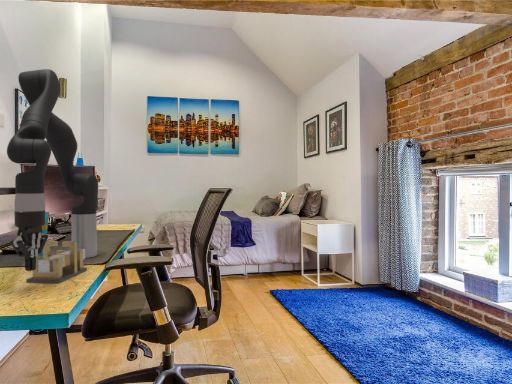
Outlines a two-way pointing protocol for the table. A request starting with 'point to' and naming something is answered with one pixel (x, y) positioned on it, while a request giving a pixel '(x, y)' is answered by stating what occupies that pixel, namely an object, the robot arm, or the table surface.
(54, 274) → the tan bracket pieces
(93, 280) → the table surface
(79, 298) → the table surface
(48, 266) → the rod
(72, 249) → the bridge
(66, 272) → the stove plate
